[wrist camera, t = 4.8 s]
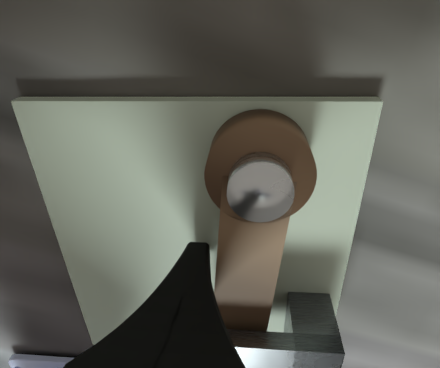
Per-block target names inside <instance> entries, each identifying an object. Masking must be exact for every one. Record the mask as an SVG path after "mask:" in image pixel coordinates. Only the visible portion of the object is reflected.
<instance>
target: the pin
mask: <svg viewBox="0 0 440 368" xmlns="http://www.w3.org/2000/svg"><path fill="white" fill-rule="evenodd" d="M294 193H295V192H294V186H293V181H292V176H291V172H290V169H289V167H288V165H287V164H286V163H285V162H284V161H283V160H282V159H281V158H280V157H278V156H276V155H274V154H272V153H268V152H253V153H249V154H246V155H244V156H243V157H241V158H240V159H238V160H237V161H236V162H235V163H234V165H233V166H232V168H231V170H230V172H229V178H228V185H227V200H228V203H229V205H230V207H231V209H232V210H233V211H234V212H235V213H236V214H237V215H238V216H240V217H242V218H243V219H246V220H249V221H252V222H268V221H272V220H275V219H277V218H279V217H281V216H282V215H284V214H285V213H286V212H287V211H288V210H289V208H290V207H291V205H292V203H293V200H294Z"/></svg>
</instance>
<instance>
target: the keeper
mask: <svg viewBox="0 0 440 368" xmlns="http://www.w3.org/2000/svg"><path fill="white" fill-rule="evenodd" d="M227 331H228V333H229V335H230V338H231V340H232V342H233V344H234V346H235V348H236V350H237V352H238V354H239V356H240V358H241V360H242V362H243V364H244V365H245V367H246V368H341V367H342V363H343V359H344V356H345V353H344V349H343V345H342V341H341V337H340V333H339V329H338V325H337V321H336V317H335V313H334V309H333V305H332V301H331V297H330V294H328V293H307V292H288V297H287V306H286V315H285V324H284V332H269V331H252V330H235V329H227Z"/></svg>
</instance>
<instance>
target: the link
mask: <svg viewBox="0 0 440 368" xmlns="http://www.w3.org/2000/svg"><path fill="white" fill-rule="evenodd" d="M253 152H268V153H272V154H274V155H276V156H278V157H280V158H281V159H282V160H283V161H284V162H285V163H286V164H287V165H288V167H289V169H290V172H291V176H292V181H293V186H294V192H295V193H294V200H293V203H292V205H291V207H290V208H289V210H288V211H287V212H286V213H285V214H284V215H282V216H281V217H279V218H277V219H275V220H272V221H268V222H252V221H249V220H246V219H243V218H242V217H240V216H238V215H237V214H236V213H235V212H234V211H233V210H232V209H231V207H230V205H229V203H228V200H227V185H228V178H229V172H230V170H231V168H232V166H233V165H234V163H235V162H236V161H237V160H238V159H240V158H241V157H243V156H244V155H246V154H249V153H253ZM204 180H205V186H206V189H207V192H208V194H209V196H210V198H211V199H212V201H213V202H214V203H215V205H216V206H217V207H218V208H219V209H220V218H219V232H218V246H217V260H216V273H215V287H214V294H215V298H216V301H217V304H218V308H219V310H220V313H221V316H222V319H223V321H224V324H225V326H226V329H235V330H252V331H267V328H268V323H269V318H270V313H271V308H272V303H273V298H274V293H275V289H276V284H277V279H278V274H279V269H280V264H281V259H282V254H283V249H284V244H285V239H286V234H287V229H288V224H289V219H290V216H291V215H293V214H295V213H296V212H297V211H299V210H300V209H301V208H302V207H303V206H304V205H305V204H306V203H307V201H308V200H309V198H310V197H311V195H312V193H313V191H314V188H315V185H316V180H317V168H316V163H315V160H314V157H313V154H312V151H311V149H310V146H309V143H308V140H307V138H306V136H305V134H304V132H303V130H302V129H301V128H300V126H299V125H298V124H297V123H296V122H295V121H293V120H292V119H291V118H289V117H288V116H286V115H284V114H282V113H280V112H276V111H273V110H267V109H254V110H248V111H244V112H242V113H239V114H237V115H235V116H233V117H231V118H230V119H229V120H227V121H226V122H225V123H224V124H223V125H222V126H221V127H220V128H219V129H218V131H217V132H216V134H215V136H214V138H213V140H212V143H211V147H210V151H209V154H208V158H207V162H206V165H205V171H204Z"/></svg>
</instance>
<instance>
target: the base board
mask: <svg viewBox="0 0 440 368" xmlns="http://www.w3.org/2000/svg"><path fill="white" fill-rule="evenodd" d="M11 104H12V107H13V110H14V113H15V116H16V119H17V121H18V124H19V127H20V130H21V133H22V136H23V139H24V142H25V145H26V148H27V151H28V154H29V157H30V160H31V163H32V166H33V169H34V172H35V175H36V178H37V181H38V184H39V187H40V190H41V193H42V196H43V199H44V202H45V205H46V207H47V210H48V213H49V216H50V219H51V222H52V225H53V228H54V231H55V234H56V237H57V240H58V243H59V246H60V249H61V252H62V255H63V258H64V261H65V264H66V267H67V270H68V273H69V276H70V279H71V282H72V285H73V288H74V291H75V293H76V296H77V299H78V302H79V305H80V308H81V311H82V314H83V317H84V320H85V323H86V326H87V329H88V332H89V335H90V338H91V341H92V344H93V345H95V344H96V343H98V342H99V341H100V340H102V339H103V338H104V337H105V336H107V335H108V334H109V333H111V332H112V331H113V330H114V329H116V328H117V327H118V326H119V325H120V324H121V323H123V322H124V321H125V320H126V319H127V318H128V317H129V316H130V315H131V314H132V313H134V312H135V311H136V310H137V309H138V308H139V307H140V306H141V305H142V304H143V303H144V302H145V301H146V299H147V298H148V297H149V296H150V295H151V294H152V293H153V292H154V290H155V289H156V288H157V287H158V286H159V284H160V283H161V282H162V281H163V280H164V278H165V277H166V276H167V274H168V273H169V272H170V270H171V269H172V268H173V266H174V265H175V263H176V262H177V260H178V259H179V257H180V256H181V254H182V253H183V251H184V250H185V248H186V246H187V244H188V243H190V242H206V243H208V244H209V246H210V266H211V282H212V286H213V290H214V287H215V273H216V260H217V246H218V232H219V218H220V209H219V208H218V207H217V206H216V205H215V203H214V202H213V201H212V199H211V198H210V196H209V194H208V192H207V189H206V186H205V180H204V171H205V165H206V162H207V158H208V154H209V151H210V147H211V143H212V140H213V138H214V136H215V134H216V132H217V131H218V129H219V128H220V127H221V126H222V125H223V124H224V123H225V122H226V121H227V120H229V119H230V118H231V117H233V116H235V115H237V114H239V113H242V112H244V111H248V110H254V109H267V110H273V111H276V112H280V113H282V114H284V115H286V116H288V117H289V118H291V119H292V120H293V121H295V122H296V123H297V124H298V125H299V126H300V128H301V129H302V130H303V132H304V134H305V136H306V138H307V140H308V143H309V146H310V149H311V151H312V154H313V157H314V160H315V163H316V168H317V180H316V185H315V188H314V191H313V193H312V195H311V197H310V198H309V200H308V201H307V203H306V204H305V205H304V206H303V207H302V208H301V209H300V210H299V211H297V212H296V213H295V214H293V215H291V216H290V219H289V224H288V229H287V234H286V239H285V244H284V249H283V254H282V259H281V264H280V269H279V274H278V279H277V284H276V289H275V293H274V298H273V303H272V308H271V313H270V318H269V323H268V328H267V331H269V332H284V324H285V315H286V306H287V297H288V292H307V293H328V294H330V297H331V301H332V305H333V309H334V313H335V317H336V313H337V308H338V304H339V299H340V295H341V290H342V286H343V281H344V277H345V272H346V268H347V263H348V259H349V254H350V250H351V245H352V241H353V236H354V231H355V227H356V222H357V218H358V213H359V209H360V204H361V200H362V195H363V191H364V186H365V182H366V177H367V173H368V168H369V164H370V159H371V154H372V150H373V145H374V141H375V136H376V132H377V127H378V123H379V118H380V114H381V109H382V105H383V101H382V100H381V99H380V98H378V97H19V98H17V99H14V100H12V101H11Z"/></svg>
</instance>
